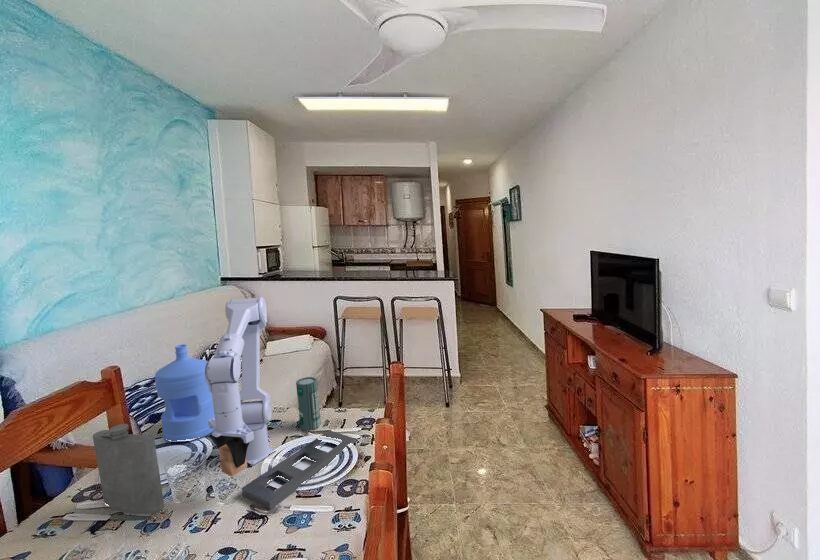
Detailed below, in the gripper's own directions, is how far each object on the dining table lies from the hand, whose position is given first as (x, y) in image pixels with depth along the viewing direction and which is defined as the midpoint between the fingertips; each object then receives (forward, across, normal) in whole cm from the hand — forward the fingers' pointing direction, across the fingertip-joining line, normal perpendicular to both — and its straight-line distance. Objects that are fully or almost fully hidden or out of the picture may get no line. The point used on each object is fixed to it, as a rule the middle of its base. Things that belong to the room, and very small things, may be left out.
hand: (234, 462), depth 96 cm
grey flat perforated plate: (+9, +6, +16) cm, 19 cm away
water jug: (+9, -41, +12) cm, 44 cm away
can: (+9, -9, +32) cm, 35 cm away
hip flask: (+9, -19, -15) cm, 26 cm away
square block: (+2, 0, 0) cm, 2 cm away
